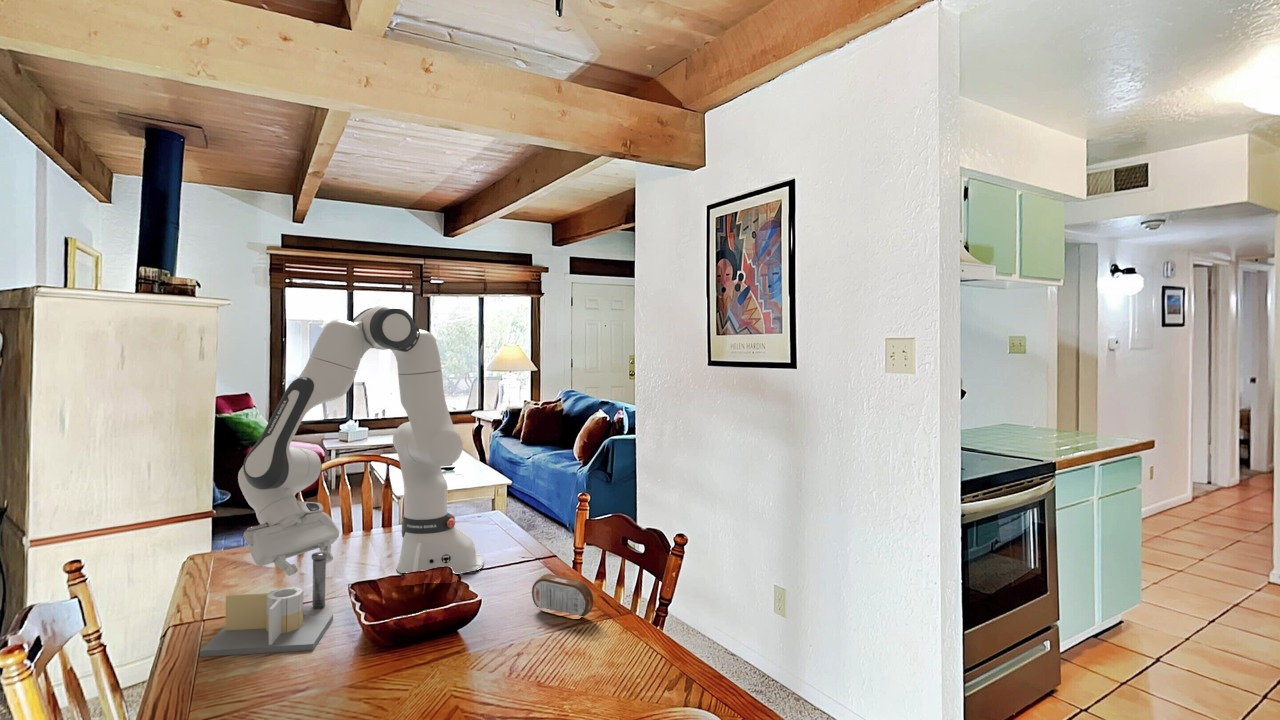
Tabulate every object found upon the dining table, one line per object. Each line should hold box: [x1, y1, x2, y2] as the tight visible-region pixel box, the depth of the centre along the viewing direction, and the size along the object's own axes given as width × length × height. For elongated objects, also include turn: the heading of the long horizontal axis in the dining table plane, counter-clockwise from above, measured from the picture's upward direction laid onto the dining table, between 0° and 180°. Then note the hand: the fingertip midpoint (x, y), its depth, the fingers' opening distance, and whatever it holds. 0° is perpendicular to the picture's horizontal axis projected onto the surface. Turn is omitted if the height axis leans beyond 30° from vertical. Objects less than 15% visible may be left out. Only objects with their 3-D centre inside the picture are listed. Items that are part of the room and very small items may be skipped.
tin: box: [531, 573, 594, 617], centre depth 146 cm, size 15×3×8 cm, turn 65°
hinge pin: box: [311, 551, 327, 610], centre depth 148 cm, size 3×3×12 cm
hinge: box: [199, 586, 334, 658], centre depth 132 cm, size 20×14×8 cm
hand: (311, 567), depth 148 cm, fingers open, 8 cm apart
